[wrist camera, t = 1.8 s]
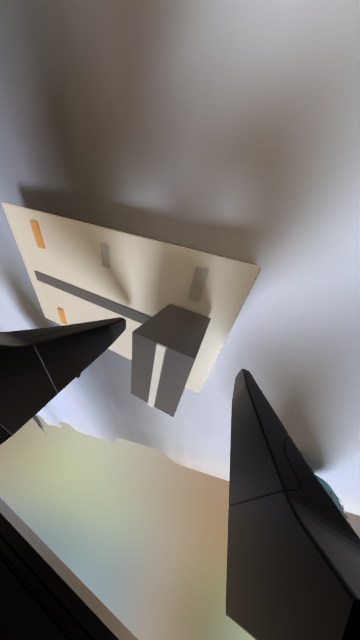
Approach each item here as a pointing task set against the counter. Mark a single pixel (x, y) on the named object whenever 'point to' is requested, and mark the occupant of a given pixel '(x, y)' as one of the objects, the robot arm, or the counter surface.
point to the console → (128, 279)
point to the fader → (166, 355)
